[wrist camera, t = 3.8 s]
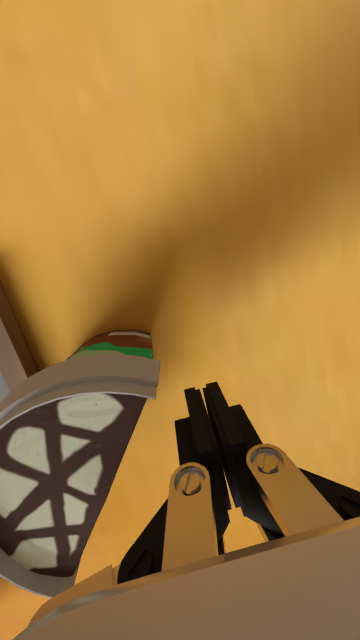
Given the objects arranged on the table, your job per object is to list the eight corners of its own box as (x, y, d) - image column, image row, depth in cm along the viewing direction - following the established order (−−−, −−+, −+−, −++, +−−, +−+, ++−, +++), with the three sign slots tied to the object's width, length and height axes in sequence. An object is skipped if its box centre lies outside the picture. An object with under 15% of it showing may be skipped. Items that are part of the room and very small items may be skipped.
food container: (75, 285, 17) (-25, 328, 8) (157, 315, 18) (161, 385, 9) (32, 427, 20) (-83, 593, 10) (106, 445, 21) (66, 609, 11)
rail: (-5, 270, 16) (-21, 272, 15) (83, 473, 21) (78, 489, 20) (-28, 275, 16) (-45, 277, 15) (66, 478, 21) (59, 494, 20)
